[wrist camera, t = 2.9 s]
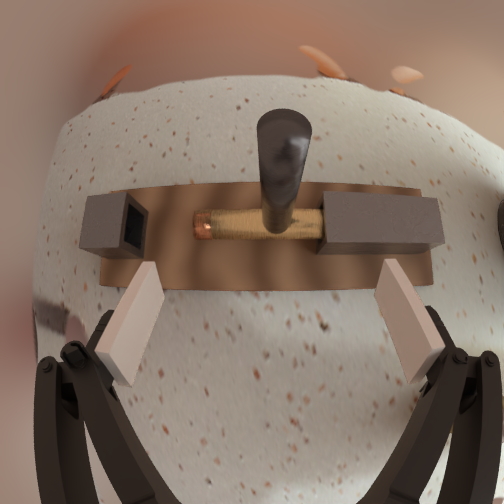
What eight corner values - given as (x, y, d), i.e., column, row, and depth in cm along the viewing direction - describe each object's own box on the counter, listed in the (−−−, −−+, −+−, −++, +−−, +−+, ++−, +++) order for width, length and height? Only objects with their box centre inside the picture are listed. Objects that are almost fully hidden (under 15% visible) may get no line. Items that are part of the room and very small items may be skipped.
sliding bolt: (410, 217, 31) (500, 145, 13) (413, 243, 31) (513, 184, 12) (200, 215, 33) (136, 119, 14) (199, 243, 32) (124, 164, 14)
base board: (415, 193, 35) (420, 189, 34) (427, 285, 32) (433, 284, 31) (116, 195, 38) (111, 191, 36) (105, 286, 35) (99, 285, 33)
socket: (148, 211, 35) (126, 191, 29) (143, 259, 34) (118, 247, 27) (112, 214, 36) (87, 196, 29) (107, 258, 34) (78, 247, 28)
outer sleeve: (414, 215, 33) (436, 198, 27) (419, 254, 32) (444, 243, 26) (314, 211, 34) (323, 190, 28) (316, 254, 33) (327, 242, 27)
